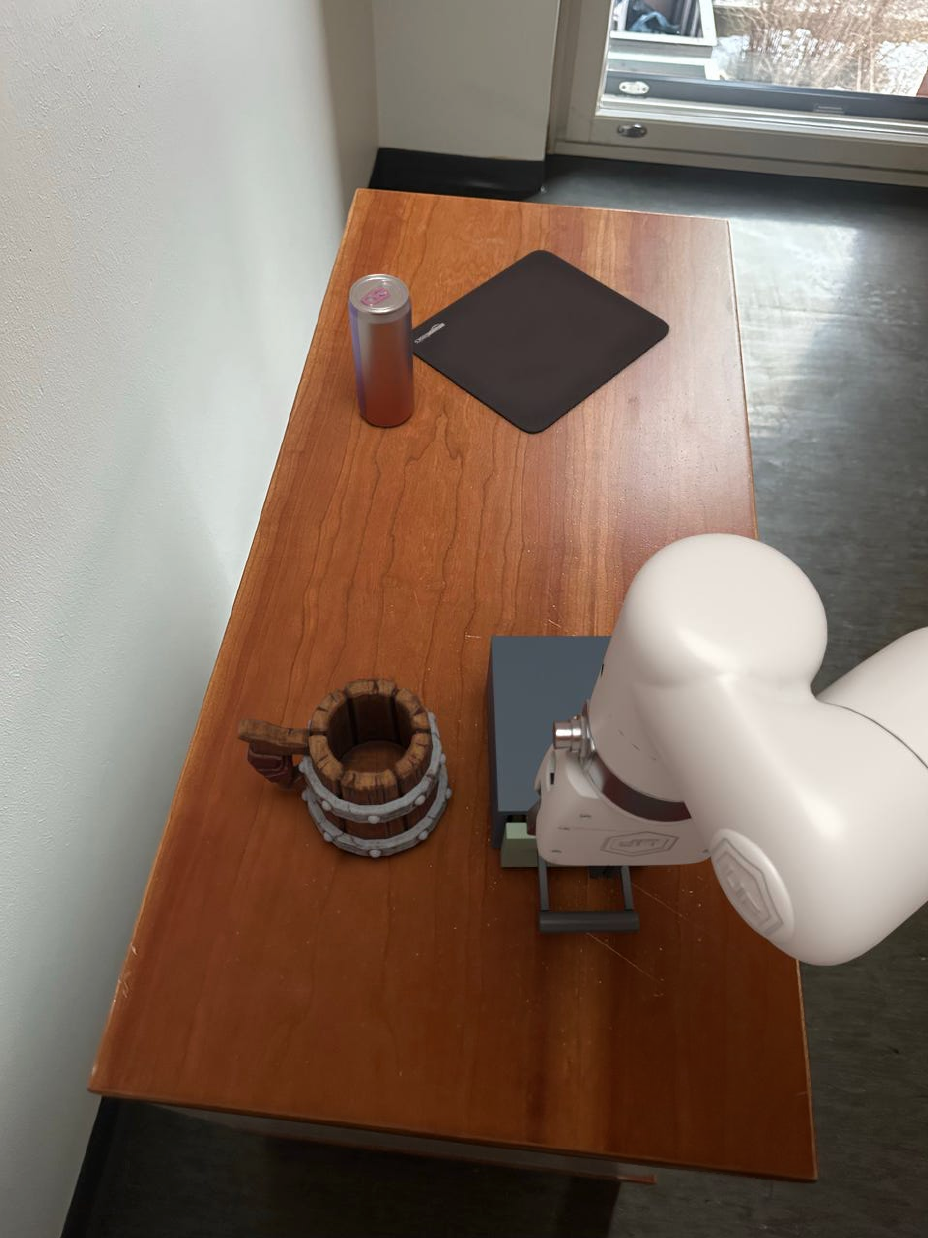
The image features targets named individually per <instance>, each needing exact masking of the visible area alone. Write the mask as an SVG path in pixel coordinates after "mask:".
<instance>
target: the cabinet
mask: <svg viewBox="0 0 928 1238" xmlns="http://www.w3.org/2000/svg"><path fill="white" fill-rule="evenodd" d="M611 637H612V635H491V636H490V645H489V654H488V665H487V673H486V674H487V676H486V683H485V692H486V693H485V694H486V696H485V697H486V721H487V725H486V726H487V751H488V755H487V756H488V781H489V783H488V784H489V807H490V808H489V809H490V811H489V813H490V836H491V837H490V839H491V842H490V843H491V849H492V850H501V846H502V841H503V836H504V831H505V826H506V823H508V815H526V812H527V811H528V810H529V809H530V808H531V807H532V806H533V805H534V804H535V803H536V802H537V801H538V800H539V799H540V798H541V796H540V795H539V793H538V792H536V791H535V780H536V777H537V774H538V771H539V769H540V766H541V764H542V761H543V759H544V757H545V755H546V753H547V752H548V750H549V748H550V746H551V745H552V743H553V739H552V730H553V722H568V721H569V719H573V718H574V717H575V716H576V714H581V713H582V710H583V707H584V704H585V701H586V699H591V696H592V693H593V691H594V688H595V685H596V682H597V679H598V676H599V673H600V670H601V667H602V664H603V661H604V658H605V655H606V652H607V649H608V646H609V643H610V640H611Z"/></svg>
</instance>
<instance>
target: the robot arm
mask: <svg viewBox="0 0 928 1238" xmlns="http://www.w3.org/2000/svg"><path fill="white" fill-rule="evenodd" d="M826 615H827V614H826V611H825V607H824V603H823V601H822V600H821V597H820V594H819V593H818V591H817V590H816V588H815V586H814V585H813V583H812V582H811V580H810V578H809V577H808V576H807V575H806V574H805V573H804V571H803V570H802V569H801V568H800V567H799V566H798V565H797V564H796V563H795V562H794V561H793V560H791V559H790V558H789V557H788V556H786V555H785V554H784V553H782V552H780V551H778V550H777V549H776V548H774V547H772V546H770V545H768V544H767V543H766V544H765V543H764V542H762V541H759V540H757V539H754V538H750V537H747V536H743V535H738V534H733V533H722V532H717V533H716V532H713V533H702V534H695V535H690V536H686V537H683V538H680V539H678V540H675V541H673V542H671V543H669V544H668V545H666V546H664V547H662V548H661V549H659V550H657V551H656V552H655V553H653V555H652V556H651V557H649V558H648V559H647V560H646V561H645V563H643V564H642V566H641V567H640V568H639V570H638V571H637V572H636V574H635V575H634V577H633V579H632V581H631V583H630V585H629V588H628V589H627V592H626V594H625V596H624V599H623V603H622V605H621V608H620V611H619V614H618V617H617V620H616V623H615V625H614V628H613V632H612V635H611V636H612V637H611V640H610V643H609V646H608V649H607V652H606V655H605V658H604V661H603V664H602V667H601V670H600V673H599V676H598V679H597V682H596V685H595V688H594V691H593V693H592V696H591V699H586V701H585V704H584V707H583V710H582V713H581V714H576V716H575V717H574V718H573V719H569V721H568V722H553V730H552V739H553V743H552V745H551V746H550V748H549V750H548V752H547V753H546V755H545V757H544V759H543V761H542V764H541V766H540V769H539V771H538V774H537V777H536V780H535V791H536V792H538V793H539V795H540V796H541V798H540V799H539V800H538V801H537V802H536V803H535V804H534V805H533V806H532V807H531V808H530V809H529V810H528V811H527V812H526V829H527V834H528V835H532V836H536V840H537V847H538V852H539V855H540V856H541V857H542V858H543V859H545V860H546V861H548V862H550V863H554V864H560V865H588V866H587V870H588V871H587V873H588V878H589V880H599V879H600V878H601V877H602V878H605V879H606V880H615V879H616V878H617V876H618V875H619V874H620V870H621V868H622V867H623V865H647V866H672V865H673V866H674V865H676V866H677V865H678V866H679V865H691V864H696V863H701V862H705V861H706V860H708V859H709V858H710V860H711V865H712V868H713V871H714V873H715V876H716V878H717V881H718V883H719V885H720V887H721V889H722V891H723V892H724V895H725V896H726V898H727V900H728V901H729V903H730V904H731V905H732V907H733V908H734V910H735V911H736V912H737V913H738V915H739V916H740V917H741V918H742V919H743V921H744V922H745V923H746V924H747V925H748V926H749V927H750V928H751V929H752V930H753V931H754V932H756V933H757V934H759V936H762V937H763V938H765V939H766V940H768V941H769V942H770V943H771V944H773V946H775V947H776V948H778V949H779V950H780V951H782V952H783V953H784V954H786V955H787V956H789V957H791V958H792V959H795V960H797V961H799V962H802V963H804V964H808V965H812V966H819V967H831V966H838V965H841V964H844V963H848V962H850V961H852V960H854V959H857V958H858V957H861V956H863V955H865V953H867V952H868V951H870V950H871V949H873V948H874V947H875V946H877V945H878V944H880V943H881V942H882V941H883V940H884V939H885V938H887V937H888V936H889V935H891V933H893V932H894V931H895V930H896V929H898V928H899V927H900V926H901V925H902V924H903V923H904V922H905V921H906V920H908V919H909V918H910V917H911V916H913V914H915V913H916V912H917V911H918V910H919V909H920V908H921V907H923V906H924V905H925V904H926V903H927V902H928V626H925V627H921V628H918V629H915V630H913V631H910V632H908V633H907V634H904V635H902V636H901V637H899V638H897V639H895V640H894V641H892V642H891V643H889V644H888V645H886V646H885V647H883V648H882V649H880V650H879V651H877V652H875V653H874V654H872V655H871V656H869V657H868V658H866V659H865V660H863V661H862V662H860V663H859V664H857V665H855V666H854V667H853V668H851V670H849V671H848V672H846V673H845V674H843V675H842V676H841V677H840V678H838V679H836V680H835V681H834V682H833V683H831V684H829V685H828V686H826V688H824V689H823V690H821V691H820V692H819V693H817V694H816V695H814V694H813V693H812V686H811V685H812V682H813V681H814V679H815V677H816V676H817V674H818V672H819V670H820V669H821V666H822V664H823V661H824V657H825V654H826V653H825V652H826V649H827V645H828V620H827V616H826Z"/></svg>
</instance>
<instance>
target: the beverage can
mask: <svg viewBox="0 0 928 1238" xmlns="http://www.w3.org/2000/svg"><path fill="white" fill-rule="evenodd" d="M409 290H410V289H409V287H408V285H407V284H406V282H404V281H403V280H402V279H401V278H399V277H396V276H394V275H392V274H387V273H373V274H368V275H365V276H362V277H360V278H359V279H357V280H355V282H353V283H352V285H351V286H350V289H349V292H348V294H349V295H348V296H349V298H348V299H347V300H348V301H347V307H348V316H349V326H350V327H349V328H350V335H351V347H352V356H353V357H352V358H353V365H354V376H355V377H354V378H355V388H356V394H357V395H356V396H357V405H358V410H359V413H360V415H361V416H362V417H363V418H364V419H365V420H366V421H367V422H369V423H370V424H372V425H374V426H376V427H380V428H381V427H383V428H390V427H396V426H398V425H401V424H403V423H404V422H406V420H408V419H409V417H410V416H411V415H412V413H413V411H414V409H415V384H414V383H415V381H414V379H415V378H414V353H413V343H412V329H413V312H412V299H411V296H410V291H409Z"/></svg>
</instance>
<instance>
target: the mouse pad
mask: <svg viewBox="0 0 928 1238" xmlns="http://www.w3.org/2000/svg"><path fill="white" fill-rule="evenodd" d="M669 331H670V326H669V323H667V322H666V321H665V320H664V319H662V318H661V317H659V316H658V315H656V314H655V313H653V312H651V311H649V310H647V309H646V308H645V307H642V306H641V305H639V304H637V303H636V302H635V301H633V300H631V299H629V298H628V297H626V296H624V295H623V294H621V293H619V292H618V291H616V290H614V289H613V288H611V287H609V286H608V285H606V284H605V283H603V282H601V281H599V280H598V279H596V278H594V277H592V276H591V275H589V274H588V273H586V272H584V271H583V270H581V269H579V268H578V267H576V266H575V265H572V264H571V263H569V262H568V261H566V260H564V259H563V258H562V257H559V256H557V254H555V253H552V252H551V251H548V250H545V249H537V250H533V251H531V252H529V253H528V254H526V255H525V256H523V257H521V258H520V259H518V260H516V261H515V262H514V263H512V264H511V265H509V266H507V267H506V268H504V269H503V270H501V271H499V273H497V274H495V275H493V276H492V277H491V278H489V279H487V280H486V281H484V282H482V283H481V284H480V285H478V286H476V287H475V288H473V289H472V290H470V291H469V292H467V293H466V294H464V295H463V296H461V297H460V298H458V299H457V300H455V301H453V302H452V303H450V304H449V305H448V306H446V307H444V308H443V309H441V310H440V311H438V312H437V313H435V314H433V315H432V316H430V317H428V318H427V319H426V320H424V321H423V322H421V323H420V324H418V325H417V326H415V327H413V328H412V343H413V355H415V356H417V357H418V358H420V359H421V360H422V361H424V362H425V363H426V364H428V365H429V366H430V367H432V368H434V369H435V370H437V371H438V372H439V373H441V374H442V375H443V376H445V377H446V378H448V379H449V380H451V381H452V382H453V383H455V384H456V385H458V386H459V387H460V388H461V389H463V390H465V391H466V392H467V393H469V394H470V395H472V396H473V397H475V398H476V399H477V400H478V401H480V402H481V403H483V404H484V405H486V406H487V407H488V408H490V409H492V410H493V411H494V412H496V413H497V414H499V415H500V416H502V417H503V418H504V419H505V420H507V421H509V422H510V423H511V424H513V425H514V426H516V428H518V429H520V430H521V431H524V432H526V433H530V434H536V433H540V432H542V431H544V430H545V429H547V428H549V427H550V426H551V425H552V424H554V423H555V422H556V421H558V420H559V419H560V418H561V417H563V416H564V415H566V414H568V412H570V411H571V410H572V409H573V408H574V407H576V406H577V405H579V404H580V403H581V402H582V401H583V400H585V399H587V397H589V396H590V395H591V394H593V393H594V392H595V391H596V390H598V389H599V388H600V387H602V386H603V385H605V384H606V383H607V382H609V380H611V379H612V378H613V377H615V376H616V375H617V374H619V373H620V372H621V371H622V370H624V369H625V368H626V367H627V366H629V365H631V364H632V363H633V362H634V361H636V360H637V359H638V358H639V357H641V356H642V355H644V354H645V353H646V352H647V351H648V350H650V349H651V348H652V347H654V345H656V344H657V343H658V342H660V341H661V340H662V339H663V338H665V337H666V336H667V335H668V333H669Z"/></svg>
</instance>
